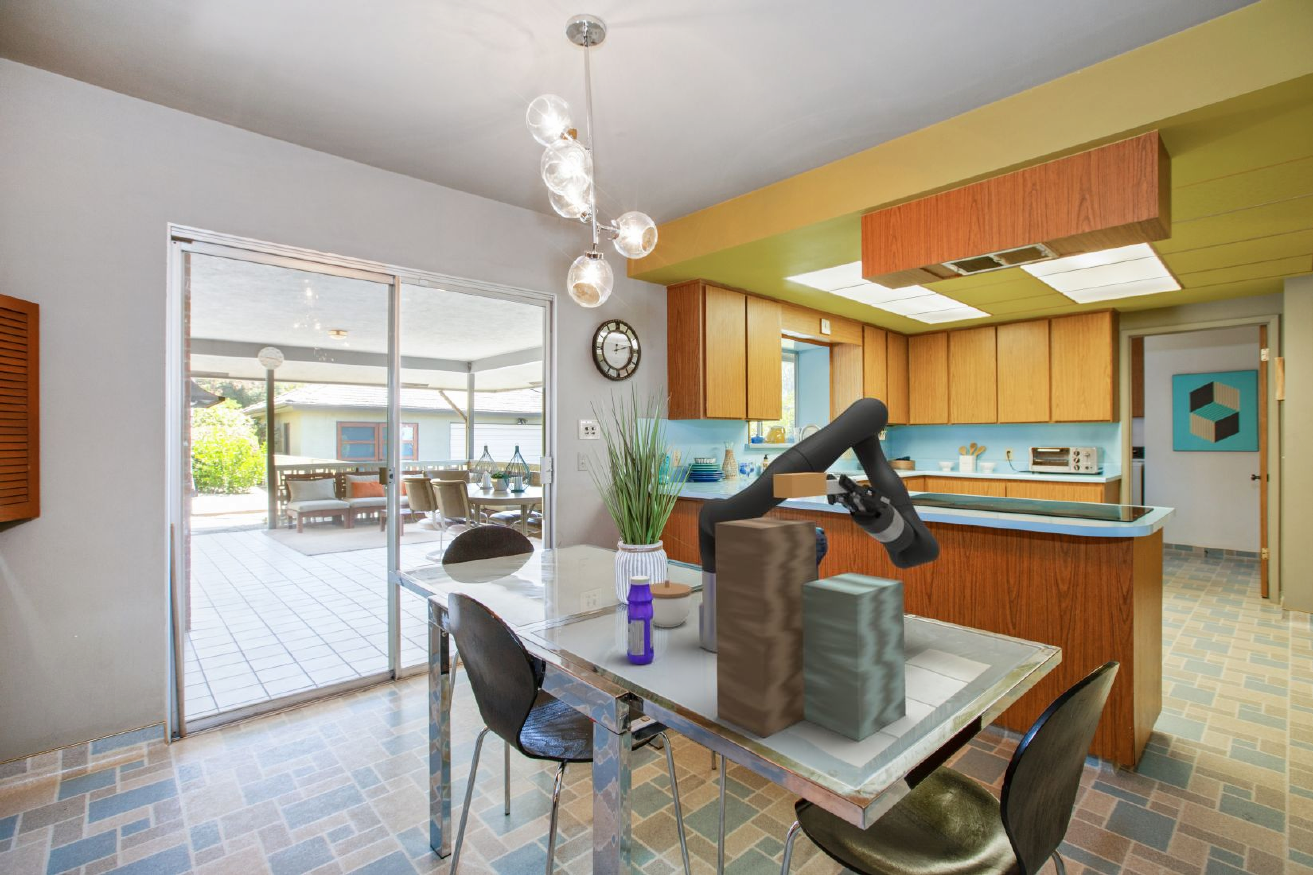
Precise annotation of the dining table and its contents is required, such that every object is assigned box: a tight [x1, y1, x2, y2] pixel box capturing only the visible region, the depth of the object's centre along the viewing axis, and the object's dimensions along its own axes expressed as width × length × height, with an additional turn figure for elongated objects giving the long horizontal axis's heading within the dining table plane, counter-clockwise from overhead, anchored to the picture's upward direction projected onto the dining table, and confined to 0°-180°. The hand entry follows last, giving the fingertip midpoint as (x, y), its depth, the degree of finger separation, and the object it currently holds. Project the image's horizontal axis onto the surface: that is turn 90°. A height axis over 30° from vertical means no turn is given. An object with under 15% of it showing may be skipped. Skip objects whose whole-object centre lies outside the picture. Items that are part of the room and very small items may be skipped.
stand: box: [715, 516, 907, 742], centre depth 99 cm, size 24×20×32 cm
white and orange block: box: [773, 472, 857, 499], centre depth 110 cm, size 21×4×4 cm, turn 129°
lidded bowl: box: [649, 579, 693, 629], centre depth 153 cm, size 13×13×11 cm
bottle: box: [626, 575, 655, 665], centre depth 127 cm, size 7×6×17 cm
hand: (834, 478), depth 113 cm, fingers closed on white and orange block, 2 cm apart
